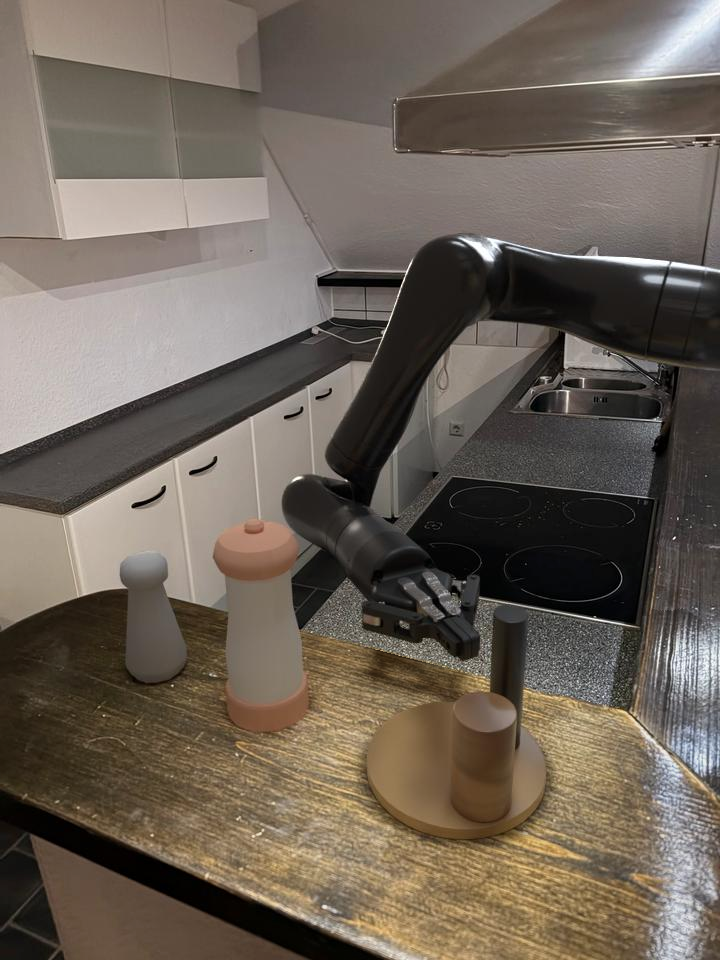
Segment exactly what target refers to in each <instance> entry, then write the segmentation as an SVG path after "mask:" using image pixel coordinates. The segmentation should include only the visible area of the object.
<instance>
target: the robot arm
mask: <svg viewBox="0 0 720 960" xmlns="http://www.w3.org/2000/svg"><path fill="white" fill-rule="evenodd" d="M394 302H395V303H394V306H393V309H392V311H391V314H390V318H389V320H388V323H387V325H386V328H385V330H384V332H383V335H382V337H381V340H380V342H379V345H378V348H377V349H376V351H375V354H374V356H373V358H372V360H371V363H370V365H369V367H368V368H367V371H366V373H365V374H364V377H363V379H362V381H361V382H360V384H359V386H358V387H357V390H356V392H355V393H354V394H353V397H352V399H351V401H350V402H349V404H348V406H347V407H346V410H345V411H344V412H343V415H342V416H341V418H340V420H339V422H338V424H337V426H336V428H335V430H333V433H332V435H331V436H330V438H329V440H328V442H327V444H326V447H325V450H324V459H325V463H326V464H327V466H328V467H329V469H330V470H332V472H333V473H335V474H336V475H338V476H339V477H341V478H342V480H341V479H336V478H332V477H329V476H324V475H323V476H322V475H319V474H315V473H303V474H299V475H297V476H295V477H294V478H293V479H291V480H290V481H289V482H288V483H287V485H286V486H285V488H284V489H283V492H282V496H281V504H280V505H281V511H282V517H283V518H284V520H285V523H286V524H287V526H288V527H289V528H290V529H291V530H292V531H293V533H295V534H296V535H298V536H299V537H301V538H302V539H304V540H306V541H307V542H309V543H311V544H312V545H314V546H316V547H317V548H320V549H322V550H323V551H326V552H327V553H328V554H329V555H330V556H331V557H332V558H333V560H334V561H335V562H336V563H337V564H338V565H339V566H340V568H341V570H342V572H343V573H344V575H345V577H346V578H347V579H348V580H349V581H350V583H352V585H353V586H354V587H355V588H356V589H357V590H358V591H359V592H360V594H361V595H362V596H363V598H365V599H366V600H365V601H362V602H361V623H362V624H361V628H362V629H363V630H364V631H367V632H372V633H374V634H379V635H382V636H386V637H389V638H393V639H397V640H400V641H404V642H408V643H412V644H416V645H417V644H421V643H423V640H424V639H429V640H430V641H432V642H434V643H438V644H439V645H440V646H441V647H442V648H443V649H444V651H446V653H448V655H450V656H451V657H453V658H457V659H459V660H460V661H461V662H466V661H469V660H472V659H476V658H478V657H479V654H480V653H479V652H480V651H481V634H480V632H479V630H477V629H476V628H475V626H474V625H475V621H476V616H477V612H478V607H479V602H480V589H481V577H480V576H479V575H477V574H469V575H468V576H467V577H466V580H457V579H456V580H455V579H453V577H452V575H451V574H449V573H448V572H445V571H442V570H439V568H437V566H436V564H435V562H434V560H433V559H432V557H431V556H430V555H429V554H428V552H427V551H425V550H424V549H423V548H422V547H421V546H420V545H418V544H417V543H416V542H415V541H414V540H412V539H411V538H410V537H409V536H408V535H407V534H406V533H405V532H403V531H402V530H401V529H400V528H398V527H397V526H396V525H394V524H393V523H391V522H389V521H388V520H386V519H385V518H383V517H382V515H380V514H379V513H378V512H377V511H375V510H374V509H373V508H372V507H371V505H372V501H373V497H374V494H375V491H376V487H377V485H378V481H379V478H380V474H381V472H382V470H383V469H384V467H385V466H386V464H387V462H388V461H389V459H390V457H391V455H392V454H393V453H394V451H395V449H396V447H397V446H398V444H399V442H400V441H401V439H402V437H403V435H404V433H405V432H406V430H407V428H408V426H409V424H410V421H411V419H412V416H413V414H414V412H415V408H416V405H417V403H418V400H419V397H420V395H421V392H422V390H423V387H424V386H425V384H426V382H427V380H428V378H429V376H430V375H431V373H432V371H433V370H434V368H435V367H436V365H437V364H438V362H439V361H440V360H441V358H442V357H443V356H444V354H446V352H447V351H448V349H449V348H450V347H451V346H452V345H453V344H454V342H455V341H457V339H458V338H459V337H460V335H462V333H463V332H464V331H465V330H466V329H467V328H468V327H471V326H473V325H475V324H478V323H480V322H501V323H513V324H521V325H530V326H531V325H532V326H538V327H545V328H549V329H553V330H556V331H558V332H562V333H565V334H568V335H570V336H572V337H575V338H577V339H579V340H581V341H584V342H586V343H588V344H591V345H593V346H595V347H598V348H601V349H604V350H606V351H608V352H611V353H615V354H618V355H620V356H624V357H628V358H632V359H634V360H635V359H636V360H639V361H647V362H650V363H656V364H660V365H667V366H672V367H678V368H679V367H680V368H681V369H682V368H683V369H689V370H696V371H697V370H700V371H710V372H711V371H712V372H713V371H714V372H720V268H719V267H714V266H706V265H702V264H695V263H687V262H678V261H671V260H661V259H648V258H638V257H624V256H604V255H603V256H602V255H601V256H600V255H570V254H561V253H555V252H551V251H547V250H546V251H545V250H542V249H536V248H532V247H529V246H524V245H520V244H517V243H513V242H509V241H505V240H501V239H498V238H494V237H491V236H486V235H484V234H479V233H475V232H459V233H454V234H453V233H452V234H445V235H441V236H438V237H436V238H433V239H431V240H429V241H427V243H425V244H424V245H422V246H421V247H420V248H419V249H418V250H417V251H416V252H415V253H414V255H413V257H412V258H411V260H410V262H409V265H408V266H407V269H406V272H405V275H404V277H403V280H402V283H401V285H400V288H399V292H398V294H397V297H396V300H395V301H394ZM343 479H344V480H343ZM453 594H454V595H456V598H457V599H458V600H460V606H458V605H457V604H456V603H455V602H454V601H453V598H452V596H453ZM400 622H403V623H406V624H407V625H408V626H409V627H408V628H406V627H402V626H401V624H400Z"/></svg>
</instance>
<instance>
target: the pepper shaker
mask: <svg viewBox="0 0 720 960" xmlns="http://www.w3.org/2000/svg"><path fill="white" fill-rule="evenodd" d="M299 553H300V545H299V542H298V539H297V537H296V536H295V535H294V533H292V531H290V529H289V528H288V527H287V526H285V525H283V524H281V523H277V522H274V521H267V520H261V519H260V518H250V519H247V520H246V521H245V522H241V523H239V524H235V525H233V526H230V527H228V528H227V529H225V530H223V531H222V533H220V535H219V536H218V538H217V539H216V541H215V543H214V547H213V551H212V559H213V561H214V563H215V565H216V568H218V570H219V572H220V573H221V574H223V575H224V582H225V593H226V605H227V627H226V641H225V653H224V655H225V662H226V669H227V680H226V681H225V689H224V690H225V699H226V701H225V702H226V710H227V714H228V716H229V719H230V720H231V721H232V723H234V724H235V725H236V726H237V727H239V728H242V729H244V730H247V731H251V732H258V733H266V732H267V733H269V732H276V731H280V730H282V729H286V728H289V727H291V726H292V725H294V724H296V723H297V722H298V721H300V720H301V719H302V718H303V716H305V715H306V713H307V710H308V709H309V707H310V702H309V700H310V699H309V684H308V683H309V682H308V675H307V673H306V672H305V670H304V666H303V641H302V637H301V633H300V629H299V625H298V620H297V615H296V612H295V609H294V602H293V588H292V587H293V586H292V574H291V573H292V571H291V569H292V568H293V567H294V565H295V564H296V561H297V560H298V556H299Z"/></svg>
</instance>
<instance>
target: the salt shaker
mask: <svg viewBox="0 0 720 960" xmlns="http://www.w3.org/2000/svg"><path fill="white" fill-rule="evenodd" d="M119 577H120V578H119V579H120V582H121V584H122V586H124V587H125V588H126V589H128V590H127V613H126V614H127V615H126V634H125V635H126V636H125V637H126V639H125V660H124V661H125V662H124V664H125V666H126V670H127V671H128V672H129V673H130V675H131V676H132V677H134V678H135V679H136V680H137V681H139V682H143V683H145V684H151V683H162V682H164V681H168V680H169V681H170V680H171V679H173V677H175V676H177V675H178V674H179V673H180V672H181V671H182V669H183V668H185V665H186V662H187V660H188V650H187V644H186V642H185V639H184V637H183V633H182V631H181V629H180V626H179V623H178V621H177V617H176V615H175V613H174V609H173V607H172V604H171V602H170V599H169V597H168V593H167V591H166V588H165V584H164V583H165V581H167V579H168V577H169V566H168V561H167V559H166V557H165V555H163V554H161V553H159V552H156V551H151V550H150V551H147V550H146V551H145V550H144V551H143V550H142V551H139V552H134V553H132V554H130V555H128V556H126V557H125V558H124V559H123V560H122V561H121V562H120V563H119Z"/></svg>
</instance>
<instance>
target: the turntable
mask: <svg viewBox="0 0 720 960" xmlns="http://www.w3.org/2000/svg"><path fill="white" fill-rule="evenodd" d="M492 615H493V616H492V634H491V635H492V636H491V655H490V656H491V657H490V674H489V675H490V677H489V691H483V690H481V691H472V692H468V693H465V694H463V695H462V696H460V697H459V698H457V700H455V701H437V702H429V703H428V702H427V703H423V704H419V705H415V706H412V707H409V708H406V709H404V710H402V711H399V712H398V713H396V714H395V715H393V716H392V717H390V718H388V719H387V720H386V721H385V722H384V723H382V725H380V727H379V728H378V729H377V730H376V731H375V732H374V734H373V736H372V737H371V739H370V742H369V744H368V748H367V751H366V775H367V781H368V784H369V788H370V789H371V792H372V794H373V796H374V797H375V799H376V800H377V802H378V803H379V804H380V805H381V806H382V808H384V809H385V811H386V812H387V813H388V814H390V815H391V816H392V817H393V818H395V819H396V820H397V821H399V822H401V823H403V824H404V825H406V826H407V827H409V828H412V829H414V830H416V831H418V832H422V833H424V834H428V835H429V836H434V837H438V838H442V839H452V840H477V839H485V838H489V837H493V836H497V835H500V834H502V833H506V832H508V831H510V830H512V829H514V828H516V827H518V826H519V825H521V824H522V823H523V822H525V821H526V820H527V819H528V818H530V817H531V816H532V814H533V813H534V812H535V811H536V810H537V808H538V807H539V805H540V803H541V802H542V800H543V798H544V793H545V791H546V782H547V763H546V759H545V755H544V753H543V751H542V749H541V747H540V745H539V743H538V742H537V740H536V738H535V737H533V735H532V734H531V733H530V731H528V730H527V728H525V727H524V726H523V725H522V719H523V705H524V689H525V674H526V663H527V662H526V661H527V648H528V647H527V646H528V631H529V618H530V617H529V616H530V615H529V612H528V610H526V608H524V607H522V606H521V605H515V604H501V605H499V606H496V607H495V608H494V610H493V614H492Z"/></svg>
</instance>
